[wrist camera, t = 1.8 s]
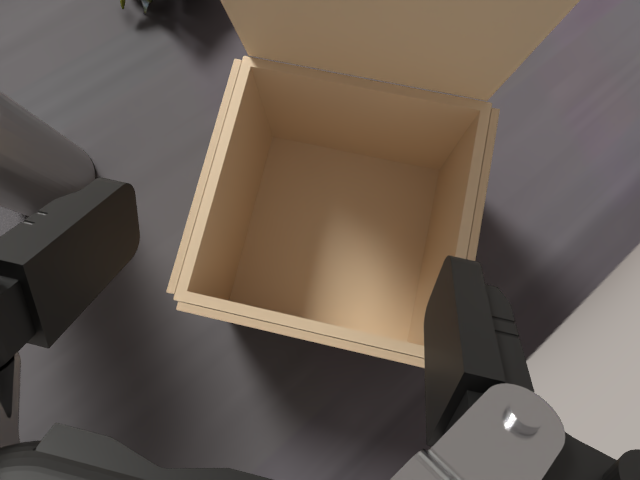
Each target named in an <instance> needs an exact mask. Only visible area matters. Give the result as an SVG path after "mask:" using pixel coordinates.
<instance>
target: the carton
mask: <svg viewBox="0 0 640 480" xmlns="http://www.w3.org/2000/svg"><path fill="white" fill-rule="evenodd" d="M491 107H492V103H489V102H484V101H479V100H473V99H468V98H463V97H458V96H452V95H447V94H442V93H437V92H431V91H426V90H421V89H415V88H410V87H405V86H400V85H394V84H389V83H384V82H379V81H373V80H368V79H363V78H358V77H352V76H347V75H342V74H337V73H331V72H326V71H321V70H316V69H310V68H305V67H300V66H295V65H289V64H284V63H279V62H274V61H268V60H263V59H258V58H253V57H247V56H243V59H242V60H239V59H234V62H233V66H232V69H231V72H230V76H229V79H228V83H227V86H226V90H225V93H224V96H223V100H222V103H221V107H220V110H219V114H218V117H217V120H216V124H215V127H214V131H213V134H212V137H211V141H210V144H209V148H208V151H207V155H206V158H205V161H204V165H203V168H202V172H201V175H200V179H199V182H198V185H197V189H196V192H195V196H194V199H193V202H192V206H191V209H190V213H189V216H188V220H187V223H186V226H185V230H184V233H183V237H182V240H181V244H180V247H179V250H178V254H177V257H176V261H175V264H174V267H173V271H172V274H171V278H170V281H169V285H168V288H167V291H166V292H168V293H172V294H175V295H174V299H173V300H177V301H178V304H177V308H176V310H180V311H184V312H188V313H192V314H197V315H201V316H205V317H209V318H214V319H218V320H222V321H226V322H231V323H235V324H239V325H243V326H248V327H252V328H256V329H260V330H265V331H269V332H273V333H277V334H282V335H286V336H290V337H294V338H299V339H303V340H307V341H312V342H316V343H320V344H324V345H329V346H333V347H337V348H341V349H346V350H350V351H354V352H358V353H363V354H367V355H371V356H375V357H380V358H384V359H388V360H392V361H397V362H401V363H405V364H409V365H414V366H418V367H422V368H425V361H424V317H425V311H426V307H427V304H428V301H429V298H430V296H431V293H432V290H433V288H434V285H435V283H436V280H437V278H438V275H439V272H440V270H441V267H442V265H443V262H444V260H445V258H446V257H447V256H448V255H450V256H454V257H459V258H463V259H468V260H472V261H475V259H476V253H477V247H478V241H479V235H480V228H481V222H482V216H483V210H484V204H485V198H486V191H487V185H488V179H489V173H490V167H491V161H492V154H493V148H494V142H495V136H496V130H497V123H498V117H499V111H500V109H495V108H492V109H491ZM179 301H182V302H179ZM185 302H186V303H185Z"/></svg>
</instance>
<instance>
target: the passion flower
mask: <svg viewBox="0 0 640 480" xmlns="http://www.w3.org/2000/svg"><path fill="white" fill-rule="evenodd" d="M141 1H142V4H143V7H144V14H146V12H147V7H148V5H149V4H150V3H151V2H152V1H153V0H141ZM120 3H121V7H122V9H124V6H125V0H121V1H120Z"/></svg>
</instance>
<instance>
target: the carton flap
mask: <svg viewBox="0 0 640 480" xmlns="http://www.w3.org/2000/svg"><path fill="white" fill-rule="evenodd" d="M220 1H221V3H222V5H223V7H224V9H225V10H226V12H227V14H228V16H229V18H230V20H231V22H232V24H233V26H234V28H235V30H236V32H237V34H238V36H239V38H240V40H241V42H242V44H243V46H244V48H245V49H246V51H247V53H248V55H249V56H254V57H259V58H264V59H270V60H275V61H280V62H285V63H291V64H296V65H301V66H306V67H312V68H317V69H322V70H327V71H333V72H338V73H343V74H349V75H354V76H359V77H364V78H370V79H375V80H380V81H385V82H391V83H396V84H401V85H406V86H412V87H417V88H422V89H427V90H433V91H438V92H443V93H449V94H454V95H459V96H464V97H470V98H475V99H480V100H485V101H488V99H489V98H490V97H491V96H492V95H493V94H494V93H495V92H496V91H497V90H498V89H499V88H500V86H501V85H502V84H503V83H504V82H505V81H506V80H507V79H508V78H509V77H510V76H511V75H512V73H513V72H514V71H515V70H516V69H517V68H518V67H519V66H520V65H521V64H522V63H523V62H524V60H525V59H526V58H527V57H528V56H529V55H530V54H531V53H532V52H533V51H534V50H535V49H536V47H537V46H538V45H539V44H540V43H541V42H542V41H543V40H544V39H545V38H546V37H547V36H548V34H549V33H550V32H551V31H552V30H553V29H554V28H555V27H556V26H557V25H558V24H559V23H560V21H561V20H562V19H563V18H564V17H565V16H566V15H567V14H568V13H569V12H570V11H571V10H572V8H573V7H574V6H575V5H576V4H577V3H578V2H579V1H580V0H220Z"/></svg>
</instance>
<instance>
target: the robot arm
mask: <svg viewBox="0 0 640 480" xmlns="http://www.w3.org/2000/svg"><path fill="white" fill-rule="evenodd" d="M0 206H2V207H4V208H7V209H10V210H12V211H15V212H18V213H21V214H24V215H26V216H29V217H28V218H27V219H25V222H24V223H22V222H21V223H19V224H18V225H17V226H15V227H14V228H12V229H11V230H9V231H8V232H6V233H5V234H4V235H2V236H1V237H0V480H272V479H268V478H265V477H261V476H257V475H253V474H249V473H246V472H242V471H238V470H234V469H230V468H186V469H167V468H161V467H159V466H156V465H155V464H153V463H152V462H150V461H148V460H147V459H145V458H144V457H142V456H140V455H139V454H137V453H136V452H134V451H132V450H131V449H129V448H128V447H126V446H124V445H123V444H121V443H120V442H118V441H116V440H115V439H113V438H112V437H109V436H105V435H101V434H97V433H93V432H90V431H86V430H82V429H78V428H74V427H71V426H67V425H63V424H59V423H55V424H54V425H53V426H52V428H51V429H50V430H49V431H48V433H47V434H46V435H45V437H44V438H43V439H42V441H31V442H23V443H20V439H19V400H20V372H21V358H20V355H19V352H18V351H19V350H20V349H21V348H22V347H23V346H24V345H25V344H26V343H30V344H34V345H37V346H41V347H45V348H50V347H51V346H52V344H53V343H54V342H55V341H56V340H57V339H58V338H59V337H60V336H61V335H62V334H63V332H64V331H65V330H66V329H67V328H68V327H69V326H70V325H71V324H72V323H73V322H74V321H75V319H76V318H77V317H78V316H79V315H80V314H81V313H82V312H83V311H84V310H85V309H86V307H87V306H88V305H89V304H90V303H91V302H92V301H93V300H94V299H95V298H96V297H97V296H98V294H99V293H100V292H101V291H102V290H103V289H104V288H105V287H106V286H107V285H108V284H109V282H110V281H111V280H112V279H113V278H114V277H115V276H116V275H117V274H118V273H119V272H120V271H121V269H122V268H123V267H124V266H125V265H126V264H127V263H128V262H129V261H130V260H131V259H132V257H133V256H134V254H135V253H136V251H137V248H138V245H139V239H140V232H139V224H138V215H137V206H136V197H135V191H134V188H133V186H132V185H131V184H128V183H124V182H119V181H115V180H110V179H106V178H97V179H95V170H94V166H93V163H92V161H91V159H90V157H89V156H88V155H87V154H86V152H85V151H84V150H82V149H81V148H80V147H78V146H77V145H75V144H74V143H73V142H71V141H70V140H68V139H67V138H66V137H64V136H63V135H61V134H60V133H59V132H57V131H56V130H55V129H53V128H52V127H50V126H49V125H48V124H46V123H45V122H43V121H42V120H40V119H39V118H38V117H36V116H35V115H33V114H32V113H31V112H29V111H28V110H26V109H25V108H24V107H22V106H21V105H19V104H18V103H16V102H15V101H14V100H12V99H11V98H9V97H8V96H7V95H5V94H4V93H2V92H1V91H0ZM514 322H515V320H514V316H513V312H512V308H511V305H510V303H509V302H508V300H507V299H506V298H505V297H504V295H503V294H502V293H501V291H500V290H499V289H498V287H494V286H489V285H485V282H484V278H483V273H482V268H481V264H480V263H479V262H477V261H472V260H468V259H463V258H459V257H454V256H450V255H448V256H447V257H446V258H445V260H444V262H443V265H442V267H441V270H440V272H439V275H438V278H437V280H436V283H435V285H434V288H433V290H432V293H431V296H430V298H429V301H428V304H427V307H426V311H425V317H424V361H425V401H426V441H427V445H429V446H433V447H432V448H430V449H429V450H428V451H426V450H425V449H422V450H421V451H419V452H418V453H417V454H415V455H414V456H413V457H412V458H411V459H410V460H409V461H408V462H407V463H406V464H405V465H404V466H403V467H402V468H401V469H400V470H399V471H398V472H397V473H396V474H395V475H394V476H393V477H392V478H391V479H390V480H640V450H630V451H628V452H626V453H624V454H623V455H622V456H621V457H620V458H619V459H618V460H615V459H613V458H611V457H609V456H607V455H606V454H603V453H602V452H600V451H598V450H596V449H594V448H592V447H590V446H588V445H586V444H584V443H582V442H580V441H579V440H577V439H575V438H573V437H572V436H570V435H569V434H567V433H566V432H565V431H564V427H563V424H562V422H561V420H560V418H559V416H558V415H557V413H556V412H555V411H554V410H553V408H552V407H551V406H550V405H549V404H548V403H547V402H546V401H545V400H544V399H542V398H541V397H540V396H538V395H537V394H535V393H534V389H533V386H532V382H531V378H530V375H529V371H528V368H527V364H526V360H525V356H524V353H523V349H522V345H521V342H520V339H518V336H519V334H518V331H517V327H516V324H514Z"/></svg>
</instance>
